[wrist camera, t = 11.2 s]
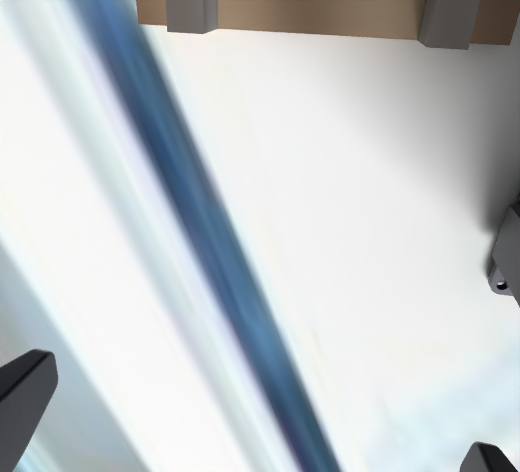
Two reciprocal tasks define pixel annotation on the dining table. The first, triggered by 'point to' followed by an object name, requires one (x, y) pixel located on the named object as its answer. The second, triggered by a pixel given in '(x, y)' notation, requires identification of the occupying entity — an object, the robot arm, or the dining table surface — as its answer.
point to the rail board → (345, 18)
